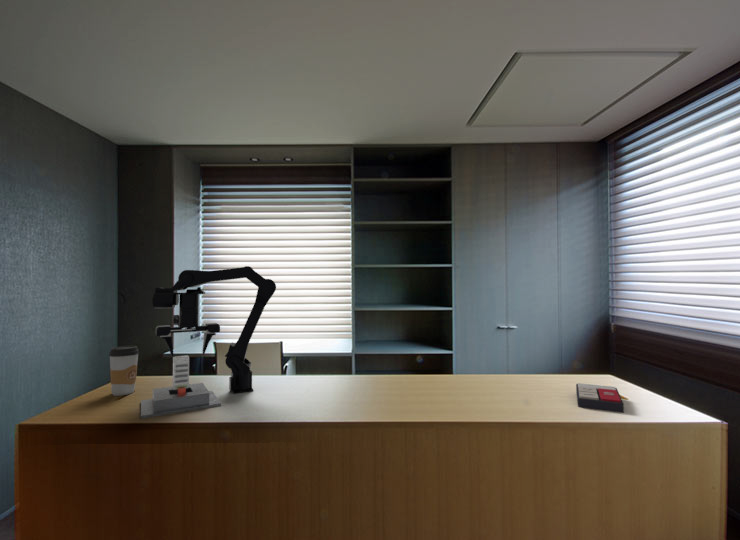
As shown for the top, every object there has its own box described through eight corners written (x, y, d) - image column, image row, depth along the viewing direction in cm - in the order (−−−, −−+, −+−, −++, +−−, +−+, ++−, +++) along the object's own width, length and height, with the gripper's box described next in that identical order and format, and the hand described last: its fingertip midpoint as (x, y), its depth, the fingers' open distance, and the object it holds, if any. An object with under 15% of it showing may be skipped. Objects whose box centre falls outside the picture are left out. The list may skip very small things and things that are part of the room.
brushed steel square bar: (187, 384, 114) (187, 355, 114) (188, 388, 110) (189, 357, 110) (172, 386, 111) (173, 356, 112) (173, 390, 108) (174, 359, 108)
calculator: (577, 395, 107) (576, 381, 120) (578, 410, 107) (576, 394, 120) (623, 400, 101) (616, 385, 115) (624, 416, 101) (617, 399, 115)
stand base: (211, 393, 123) (212, 375, 123) (220, 406, 109) (221, 386, 109) (140, 403, 112) (141, 384, 112) (140, 418, 99) (141, 397, 99)
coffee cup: (123, 397, 118) (124, 349, 119) (101, 396, 120) (102, 349, 121) (144, 390, 126) (145, 345, 127) (123, 389, 128) (124, 345, 129)
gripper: (215, 306, 135) (214, 349, 134) (155, 307, 125) (154, 354, 124) (220, 307, 125) (219, 354, 124) (156, 309, 115) (155, 360, 115)
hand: (188, 355), depth 122 cm, fingers open, 9 cm apart
